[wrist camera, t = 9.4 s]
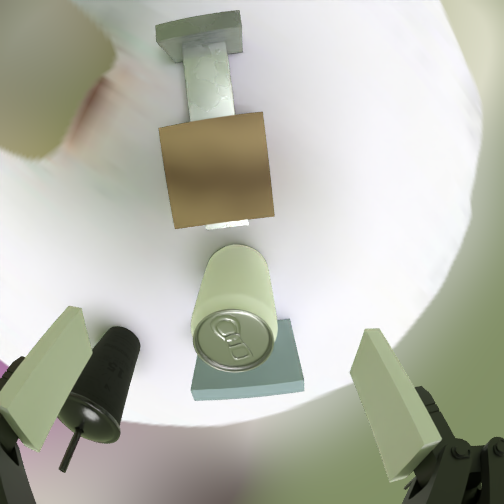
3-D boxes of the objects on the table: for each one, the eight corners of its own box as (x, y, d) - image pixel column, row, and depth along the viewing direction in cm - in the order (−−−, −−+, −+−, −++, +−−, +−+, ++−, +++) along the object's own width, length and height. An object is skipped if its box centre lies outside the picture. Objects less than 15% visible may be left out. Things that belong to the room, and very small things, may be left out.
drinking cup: (138, 372, 36) (94, 497, 17) (91, 344, 34) (25, 458, 16) (160, 338, 34) (111, 482, 15) (106, 306, 32) (23, 432, 13)
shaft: (174, 49, 23) (155, 25, 16) (240, 38, 22) (239, 10, 16) (197, 221, 29) (184, 242, 22) (262, 213, 29) (267, 232, 22)
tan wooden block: (176, 131, 26) (158, 128, 20) (258, 119, 26) (262, 111, 20) (189, 211, 29) (174, 229, 23) (268, 201, 28) (274, 216, 23)
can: (254, 233, 30) (260, 290, 18) (277, 287, 32) (292, 361, 20) (196, 256, 30) (169, 321, 19) (221, 307, 32) (211, 385, 21)
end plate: (202, 328, 33) (190, 390, 24) (289, 318, 33) (303, 380, 24) (205, 338, 34) (194, 400, 24) (290, 329, 34) (304, 391, 24)
